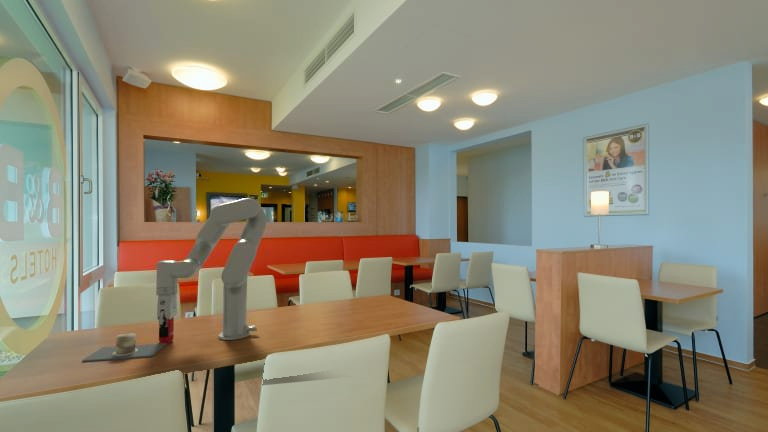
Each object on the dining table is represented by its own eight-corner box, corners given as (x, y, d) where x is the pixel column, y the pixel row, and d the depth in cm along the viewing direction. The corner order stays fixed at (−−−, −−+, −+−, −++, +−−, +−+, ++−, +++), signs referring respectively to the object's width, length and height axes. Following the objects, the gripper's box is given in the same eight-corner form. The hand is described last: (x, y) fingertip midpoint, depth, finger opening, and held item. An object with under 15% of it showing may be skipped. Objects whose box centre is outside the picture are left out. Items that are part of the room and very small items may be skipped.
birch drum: (138, 348, 141) (138, 332, 141) (131, 353, 135) (131, 337, 135) (120, 349, 139) (120, 333, 139) (112, 355, 133) (113, 338, 133)
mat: (165, 344, 147) (165, 342, 147) (152, 356, 134) (152, 354, 134) (102, 348, 142) (102, 347, 142) (81, 362, 128) (82, 360, 128)
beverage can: (166, 344, 148) (167, 314, 148) (155, 343, 149) (156, 313, 149) (176, 340, 153) (176, 311, 153) (165, 339, 154) (166, 310, 154)
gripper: (170, 294, 144) (169, 340, 144) (183, 286, 161) (182, 328, 160) (148, 294, 142) (147, 342, 142) (163, 287, 159) (163, 329, 158)
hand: (166, 334), depth 151 cm, fingers closed on beverage can, 5 cm apart
